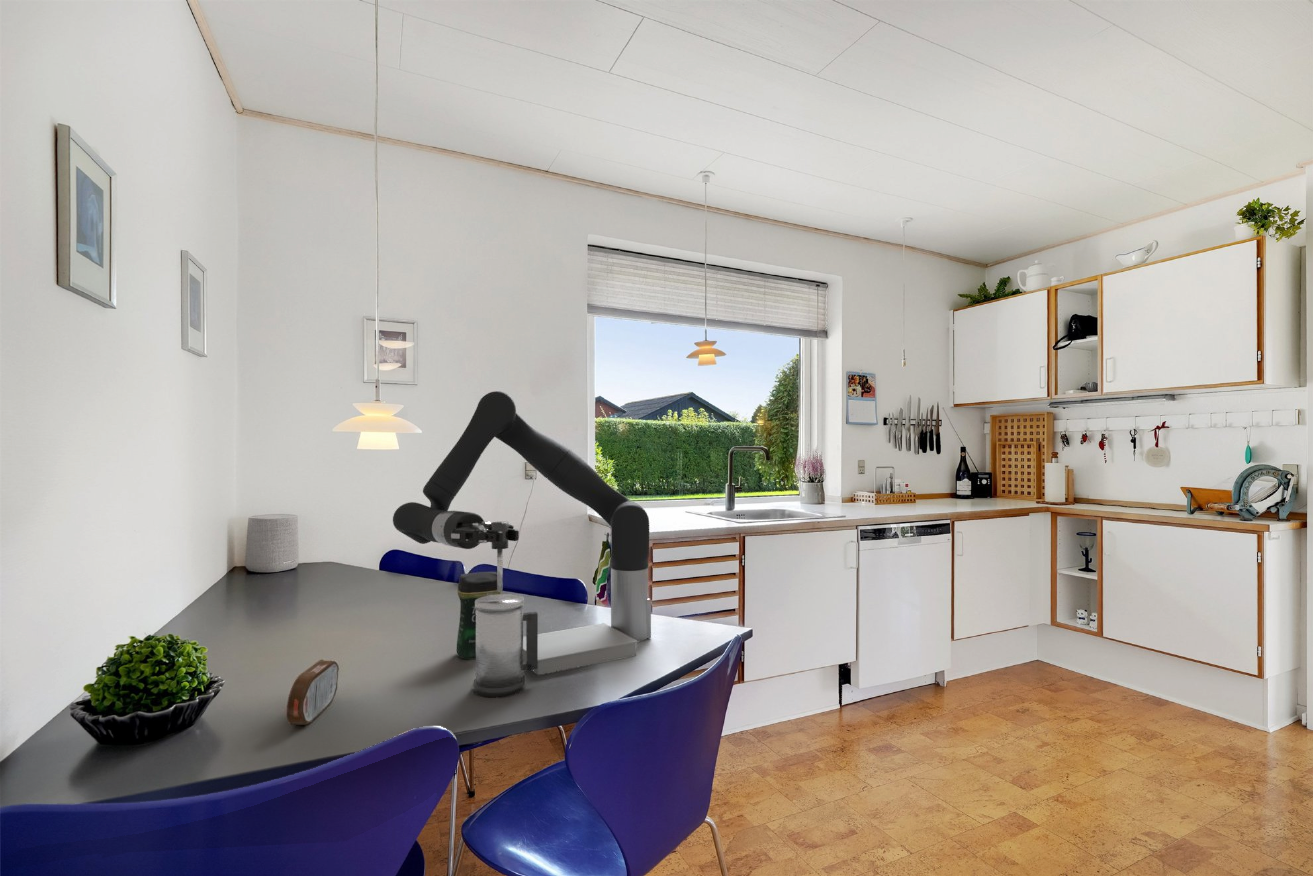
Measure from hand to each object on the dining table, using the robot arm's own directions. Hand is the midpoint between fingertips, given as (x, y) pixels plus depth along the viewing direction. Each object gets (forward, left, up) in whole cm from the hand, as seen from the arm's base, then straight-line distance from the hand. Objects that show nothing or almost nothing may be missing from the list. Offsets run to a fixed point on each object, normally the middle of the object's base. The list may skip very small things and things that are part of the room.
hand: (509, 536), depth 122 cm
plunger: (+1, -2, -11) cm, 11 cm away
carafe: (0, -2, -30) cm, 30 cm away
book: (-17, -17, -31) cm, 39 cm away
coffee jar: (+3, -24, -30) cm, 39 cm away
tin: (+33, -1, -30) cm, 45 cm away
